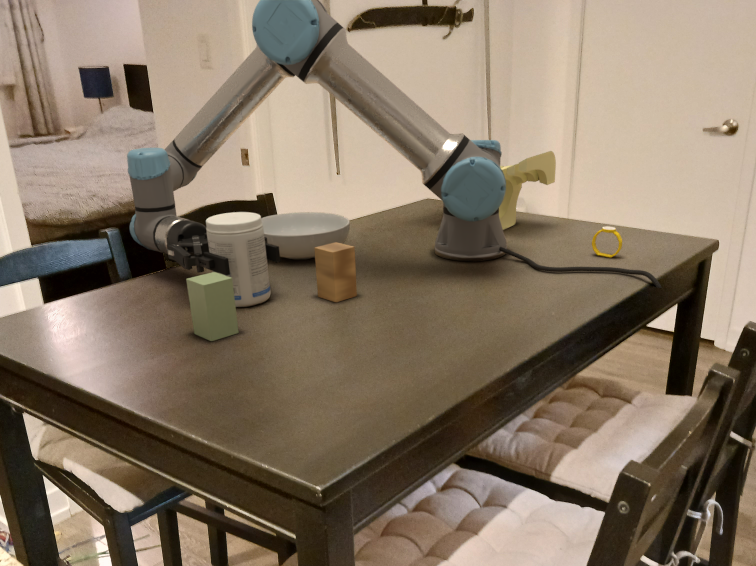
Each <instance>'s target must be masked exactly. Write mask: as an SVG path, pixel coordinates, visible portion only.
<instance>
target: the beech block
mask: <svg viewBox="0 0 756 566" xmlns="http://www.w3.org/2000/svg"><path fill="white" fill-rule="evenodd" d="M314 249H315V258H314V261H315V263H314V264H315V276H316V289H317V297H318V298H321V299H324V300H327V301H330V302H332V303H333V302H334V303H340V302H342V301H346V300H348V299H349V300H350V299H351V298H354V297H355V298H356V297H358V290H357V289H358V287H357V270H356V267H357V266H356V250H355V246H354V245H349V244H345V243H343V244H341V243H337V242H335V243H331V244H327V245H323V246H318V247H315V248H314Z"/></svg>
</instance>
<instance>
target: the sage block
mask: <svg viewBox="0 0 756 566" xmlns="http://www.w3.org/2000/svg"><path fill="white" fill-rule="evenodd" d="M185 280H186V287H187V295H188V301H189V308H190V314H191V322H192V329H193V334H194V335H196V336H198V337H200V338H202V339H205V340H207V341H210V342H214V341H217V340H220V339H223V338H228V337H230V336H233V335H237V334H239V324H238V314H237V307H236V306H235V298H234V290H233V282H232V278H231V277H228V276H225V275H222V274H219V273H216V272H209V273H208V272H207V273H205V274H200V275H196V276H192V277H188V278H186V279H185Z"/></svg>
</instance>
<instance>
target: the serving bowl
mask: <svg viewBox="0 0 756 566" xmlns="http://www.w3.org/2000/svg"><path fill="white" fill-rule="evenodd" d="M261 221H262V224H263V225H262V226H263V231H264V237H267V241H268V244H272V245H275V246H279V252H280V258H286V259H290V260H310V259H315V249H314V248H315V247H318V246H323V245H327V244H331V243H335V242H337V243H341V244H345V242H346V240H347V239H348V236H349V233H350V224H351V222H350V219H349V218H348V217H346V216H344V215H341V214H337V213H332V212H321V211H297V212H285V213H278V214H273V215H267V216H264V217H261Z"/></svg>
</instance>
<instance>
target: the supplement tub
mask: <svg viewBox="0 0 756 566" xmlns="http://www.w3.org/2000/svg"><path fill="white" fill-rule="evenodd" d="M261 218H262V215H260V213H256V212H249V211H236V212H235V211H233V212H226V213H219V214H216V215H215V214H214V215H212V216H209V217H208V218H206V220H205V227H206V230H207V239H208V246H209V252H210V253H212V254H216V255H219V256H222V257H225V258H228V261H229V269H230V274H229V275H225V276H228V277H231V278H232V282H233V290H234V298H235V306H236V308H247V307H252V306H256V305H259V304H263V303H265V302H266V301H268V300H269V299H270V297H271V292H272V291H271V283H270V274H269V266H268V260H267V255H266V247H265V239H264V231H263V226H262V225H263V224H262V221H261ZM211 271H212V270H211ZM212 272H215V271H212ZM212 272H211V273H212ZM216 273H218V272H216ZM219 274H221V273H219ZM222 275H224V274H222Z"/></svg>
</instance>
